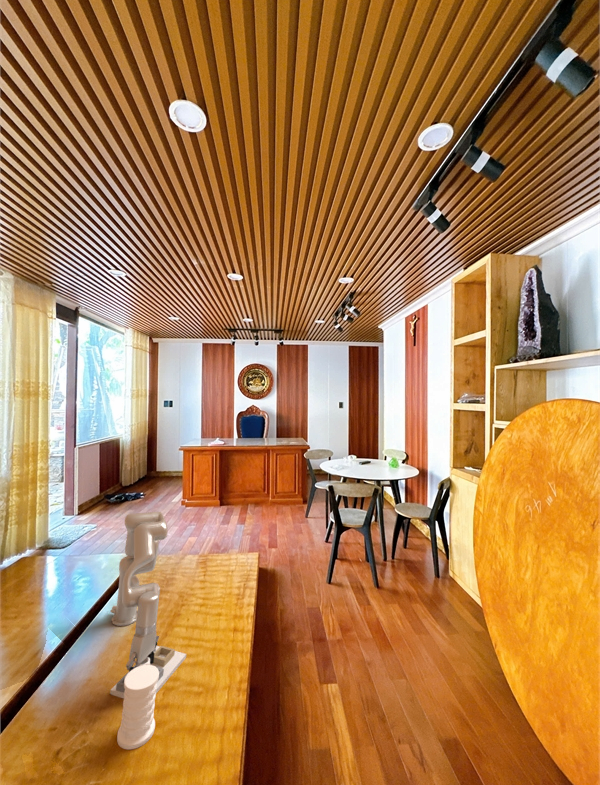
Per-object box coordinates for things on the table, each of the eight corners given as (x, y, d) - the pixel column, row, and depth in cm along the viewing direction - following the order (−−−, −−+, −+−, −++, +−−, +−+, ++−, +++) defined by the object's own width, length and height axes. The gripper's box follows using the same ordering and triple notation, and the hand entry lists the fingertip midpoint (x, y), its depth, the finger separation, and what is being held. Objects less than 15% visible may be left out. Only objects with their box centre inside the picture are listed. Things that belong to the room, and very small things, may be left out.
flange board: (110, 694, 126) (111, 683, 126) (155, 648, 151) (156, 639, 151) (145, 706, 122) (146, 694, 122) (186, 657, 147) (186, 648, 147)
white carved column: (147, 749, 107) (153, 690, 108) (110, 749, 106) (116, 690, 107) (159, 716, 118) (164, 664, 119) (126, 716, 117) (131, 663, 119)
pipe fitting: (151, 675, 134) (154, 654, 135) (144, 689, 127) (147, 667, 128) (136, 674, 134) (138, 653, 135) (127, 688, 127) (130, 666, 128)
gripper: (152, 612, 141) (148, 654, 140) (121, 638, 124) (116, 685, 123) (167, 616, 139) (163, 658, 138) (138, 643, 123) (133, 691, 122)
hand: (141, 671), depth 131 cm, fingers open, 9 cm apart
